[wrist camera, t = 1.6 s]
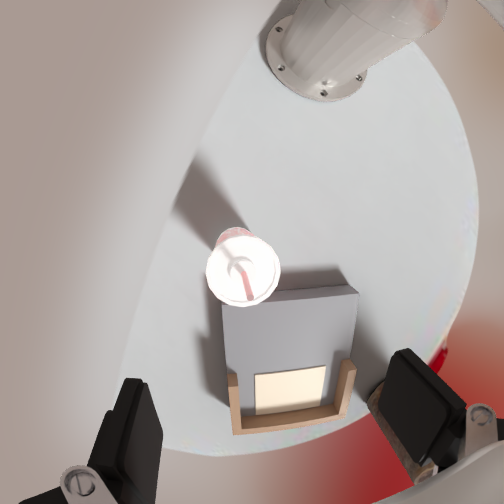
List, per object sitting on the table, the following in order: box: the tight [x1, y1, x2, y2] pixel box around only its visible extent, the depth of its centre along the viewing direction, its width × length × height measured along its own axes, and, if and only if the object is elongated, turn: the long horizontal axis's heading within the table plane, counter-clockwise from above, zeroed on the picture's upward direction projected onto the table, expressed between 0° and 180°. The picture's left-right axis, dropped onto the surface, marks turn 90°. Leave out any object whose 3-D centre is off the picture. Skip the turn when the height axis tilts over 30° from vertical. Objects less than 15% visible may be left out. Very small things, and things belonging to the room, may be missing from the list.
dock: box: [221, 285, 359, 435], centre depth 33 cm, size 19×16×6 cm
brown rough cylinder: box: [367, 382, 435, 485], centre depth 31 cm, size 8×7×20 cm
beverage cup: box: [206, 227, 281, 307], centre depth 25 cm, size 6×6×14 cm
